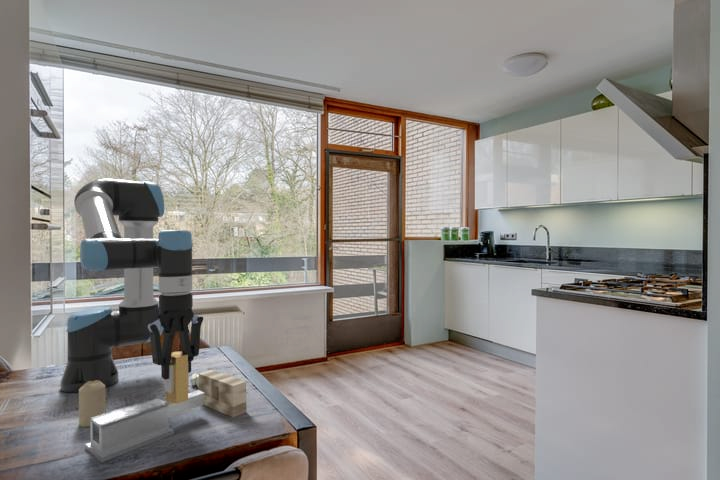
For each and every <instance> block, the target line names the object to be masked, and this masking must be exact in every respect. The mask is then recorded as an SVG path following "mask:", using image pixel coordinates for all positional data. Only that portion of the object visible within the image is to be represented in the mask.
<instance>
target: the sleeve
mask: <svg viewBox="0 0 720 480" xmlns="http://www.w3.org/2000/svg"><path fill="white" fill-rule="evenodd" d="M164 401H165V400H162V399H160V398H158V397H154V398H153V397H152V398H150V399H146V400H144V401H141V402H137V403H134V404H131V405H128V406H127V405H126V406H124V407H120V408H118V409H115V410H112V411H108V412H106V413H105V414H101V415H98V416H95V417H92V418H90V427H89V431H90V433H89V434H90V442H87V443H85V445H84V447H85V451H87V452H88V453H90V454H91V455H93V456H94V457H95V459H97V460H98V461H99V462H101V463H104V462H107V461H109V460H111V459H115V458H117V457H120V456H122V455H125V454H127V453H130V452H132V451H135V450H138V449H140V448H143V447H145V446H147V445H151V444H152V443H155V442H158V441H160V440H162V439H165V438H167V437H170V436H173V435H174V434H175V429H173V428H172V427H170V424H169V423H170V422H169V418H170V417H169V410H168V403H166V402H164Z"/></svg>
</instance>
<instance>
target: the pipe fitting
mask: <svg viewBox="0 0 720 480" xmlns="http://www.w3.org/2000/svg"><path fill="white" fill-rule="evenodd" d="M190 385H191V386H197V387H198V373H193V374H192V375H191V377H190Z"/></svg>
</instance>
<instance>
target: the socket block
mask: <svg viewBox="0 0 720 480" xmlns="http://www.w3.org/2000/svg"><path fill="white" fill-rule="evenodd" d="M197 374H198V386H197V388H198V389H197V390H199V391H202V392H204V393H205V405H204V406H206V407H209V408H211V409H213V410H216V411H218V412H220V413H221V414H225V415H227V416H229V417H231V418H236V417H238V416H241V415H243V414H246V413H247V381H245V380H243V379H240V378H237V377H234V376H231V375H228V374H225V373H222V372H219V371H216V370H213V369H210V370H209V369H208V370H206V371H202V372H199V373H197Z"/></svg>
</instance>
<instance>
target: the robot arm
mask: <svg viewBox="0 0 720 480" xmlns="http://www.w3.org/2000/svg"><path fill="white" fill-rule="evenodd" d="M164 199H165V198H164V195H163V191H162V189H161V187H160V186H159V184H158V183H157V182H152V181H145V180H132V179H116V178H115V179H114V178H99V179H96V180H92V181H90V182H88V183H86V184H85V185H83V186H82V187H81V188H80V189H79V190H78V191H77V192H76V195H75V196H74V208H75V211H76V213H77V214H78V215H79V216H80V217H81V220H82V225H83V229H84V233H85V239H83V240H81V242H80V246H79V258H80V266H81V269H83V270H85V271H98V272H99V271H108V270H123V275H124V276H123V285H124V286H123V289H124V290H123V293H124V294H123V295H124V296H123V299H122V301H121V302H120V303H119V304H118V309H117V310H113V309H112V307H110V306H102V307H101V306H99V307H92V308H88V309H84V310H80V311H77V312H74V313H72V314H71V315H70V316H69V317H68V318H67V324H66V325H67V326H66V332H65V333H67V336H66V337H67V338H66V339H67V355H66V356H67V361H66V362H67V363H66V365H65V368H64V371H63V375H62V377H61V380H60V390H61V392H64V393H79V389H80V388H81V387H82V386H83V385H84V384H85V383H87V382H88V381H95V380H98V381H100V382H102V383H103V384H104V385H105V388H107V387H110V386H111V385H115V383H117V382H118V381H119V371H118V368H117V366H116V363H115V360H114V359H113V353H112V351H113V348H116V347H117V348H119V347H124V346H129V345H137V344H146V343H149V342H150V350H151V359H152V363H153V364H155V365H157V366H161V367H160V369H161V376H160V377H161V379H162V380H164V391H165V392H166V391H167V392H169V393H173V392H174V375H173V365H172V364H170V361H171V354H172V352H173V345H174V339H175V338H174V337H176V333H177V334H178V338H179V343H180V350H181V353H184V354H187V355H188V374H191V372H192V361H194V358H195V357H197V356H199V354H200V344H201V343H200V340H201V328H202V324H203V321H204V317H203V316H202V315H196V314H195V313H194V311H193V304H194V303H193V298H194V297H193V296H194V295H193V294H192V293H191V292H192V290H193V247H194V246H193V245H194V244H193V239H192V233H191V231H190V230H188V229H187V230H186V229H180V230H179V229H175V230H174V229H168V230H167V229H166V230H165V229H164V230H163V229H162V230H160V231H159V232H158V235H157V236H158V237H157V238H154V227H155V226H156V225H157V224H158V223H159V218H161V217H163V216H164V214H165V200H164ZM114 216H117V217H118V222H119V224H121V225H122V226H123V238H122V235H121V232H120V229H119V227H118V224H117V222H116V219H115V217H114ZM154 268H158V292H159V296H158V299H156V298H154ZM190 323H191V326H190V329H189V325H190ZM161 335H163V338H162V339H163V341H162V340H161ZM188 389H189V385H188Z"/></svg>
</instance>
